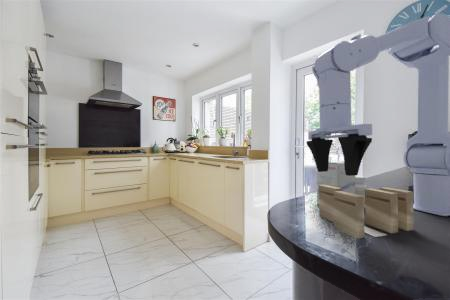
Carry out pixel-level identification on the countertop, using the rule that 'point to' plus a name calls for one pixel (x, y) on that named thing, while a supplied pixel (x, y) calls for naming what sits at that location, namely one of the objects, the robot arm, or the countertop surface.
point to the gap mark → (373, 232)
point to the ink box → (336, 178)
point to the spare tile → (327, 201)
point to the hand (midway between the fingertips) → (335, 173)
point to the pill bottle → (360, 186)
